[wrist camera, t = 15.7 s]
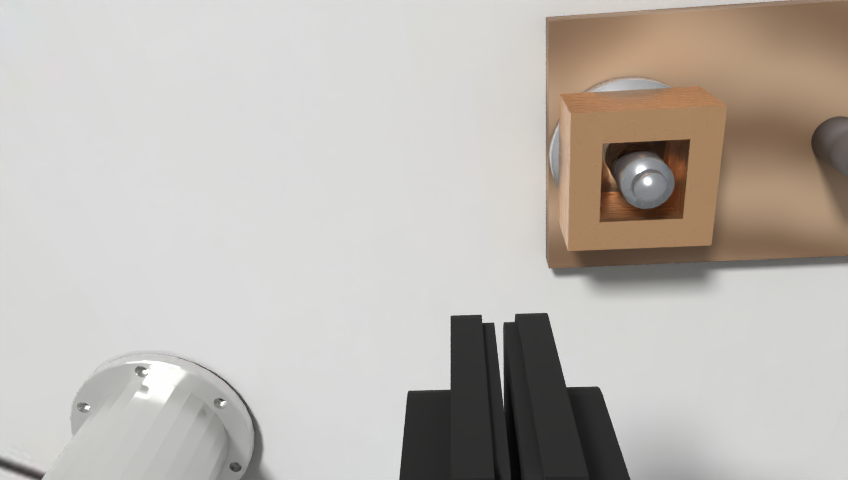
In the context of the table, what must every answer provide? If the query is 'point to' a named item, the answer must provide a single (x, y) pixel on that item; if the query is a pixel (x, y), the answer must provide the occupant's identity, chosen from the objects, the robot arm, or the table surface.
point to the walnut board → (729, 118)
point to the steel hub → (628, 156)
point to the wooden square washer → (684, 154)
